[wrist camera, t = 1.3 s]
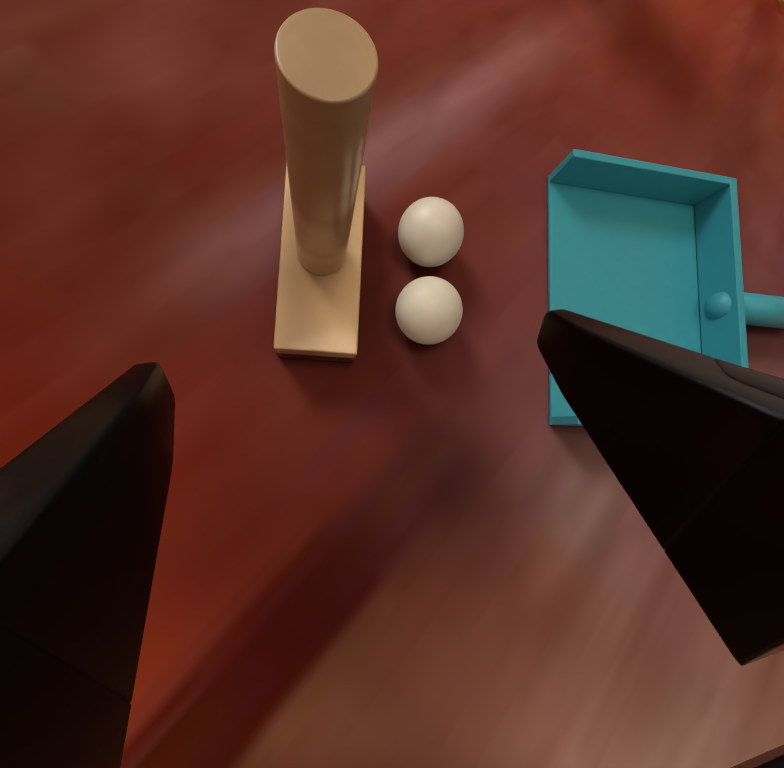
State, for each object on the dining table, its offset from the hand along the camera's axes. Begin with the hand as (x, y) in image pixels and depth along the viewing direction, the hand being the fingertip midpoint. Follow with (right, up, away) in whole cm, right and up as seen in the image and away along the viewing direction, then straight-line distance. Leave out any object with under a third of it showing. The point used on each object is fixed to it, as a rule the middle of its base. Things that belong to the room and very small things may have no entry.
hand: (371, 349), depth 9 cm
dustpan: (+19, +4, +17) cm, 26 cm away
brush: (-3, +5, +13) cm, 15 cm away
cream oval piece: (+2, +7, +14) cm, 16 cm away
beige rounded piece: (+2, +3, +14) cm, 14 cm away
